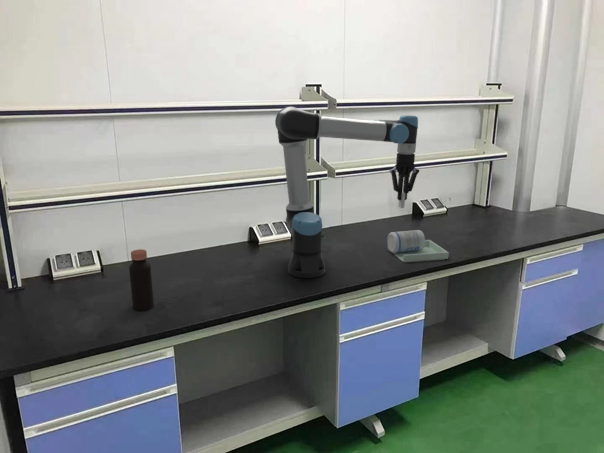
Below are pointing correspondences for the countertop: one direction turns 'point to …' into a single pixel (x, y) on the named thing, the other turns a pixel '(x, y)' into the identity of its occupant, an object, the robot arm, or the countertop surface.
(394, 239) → the supplement tub
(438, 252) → the tray
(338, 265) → the countertop surface
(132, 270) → the bottle
